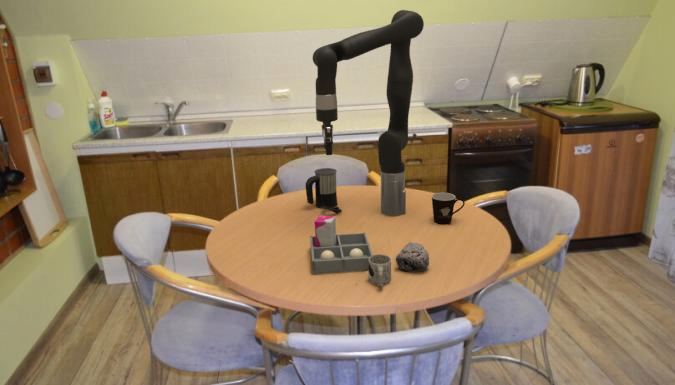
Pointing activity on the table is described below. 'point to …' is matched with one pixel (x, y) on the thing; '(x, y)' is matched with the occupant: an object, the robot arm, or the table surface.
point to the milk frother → (323, 189)
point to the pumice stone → (413, 257)
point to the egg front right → (327, 255)
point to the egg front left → (356, 253)
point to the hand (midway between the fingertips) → (328, 151)
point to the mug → (379, 269)
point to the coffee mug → (444, 207)
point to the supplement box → (325, 231)
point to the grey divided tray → (341, 254)
